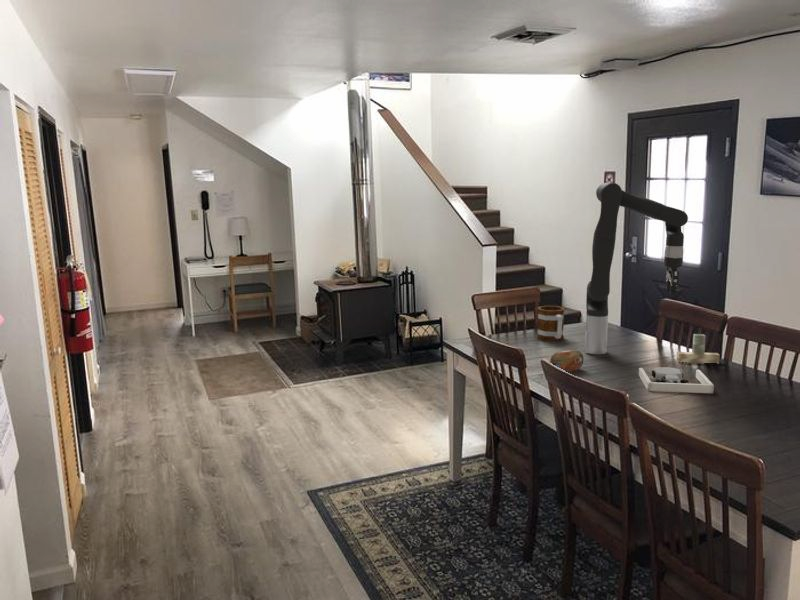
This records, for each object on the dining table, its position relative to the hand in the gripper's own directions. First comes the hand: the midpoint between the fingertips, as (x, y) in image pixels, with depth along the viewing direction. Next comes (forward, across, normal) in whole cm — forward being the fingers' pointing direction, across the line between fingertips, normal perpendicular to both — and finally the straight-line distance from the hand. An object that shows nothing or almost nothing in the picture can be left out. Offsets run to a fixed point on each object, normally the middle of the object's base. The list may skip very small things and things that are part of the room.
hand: (671, 292), depth 281 cm
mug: (+28, -15, -50) cm, 59 cm away
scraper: (+27, +16, +9) cm, 33 cm away
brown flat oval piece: (+28, +36, -45) cm, 64 cm away
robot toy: (+27, +47, -8) cm, 55 cm away
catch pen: (+27, +47, -6) cm, 54 cm away
